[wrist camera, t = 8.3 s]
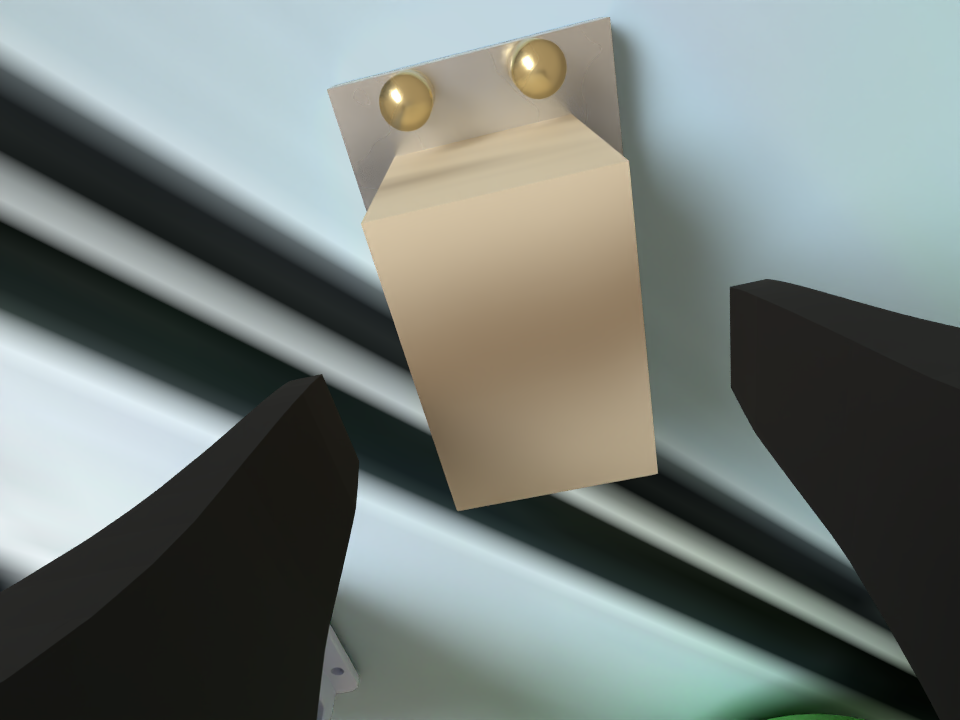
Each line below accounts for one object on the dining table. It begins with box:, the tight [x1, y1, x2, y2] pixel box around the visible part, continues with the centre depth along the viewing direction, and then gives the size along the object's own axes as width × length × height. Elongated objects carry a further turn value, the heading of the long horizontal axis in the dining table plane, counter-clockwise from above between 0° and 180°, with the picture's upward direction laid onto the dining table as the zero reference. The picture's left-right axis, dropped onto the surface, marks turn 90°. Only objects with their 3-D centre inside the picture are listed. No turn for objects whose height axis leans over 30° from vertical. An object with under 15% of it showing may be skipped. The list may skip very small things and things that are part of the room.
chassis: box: [327, 17, 623, 211], centre depth 14 cm, size 10×6×2 cm, turn 13°
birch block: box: [361, 114, 658, 511], centre depth 12 cm, size 6×4×5 cm, turn 13°
